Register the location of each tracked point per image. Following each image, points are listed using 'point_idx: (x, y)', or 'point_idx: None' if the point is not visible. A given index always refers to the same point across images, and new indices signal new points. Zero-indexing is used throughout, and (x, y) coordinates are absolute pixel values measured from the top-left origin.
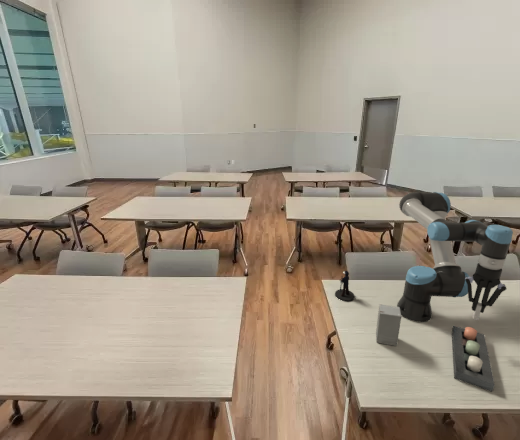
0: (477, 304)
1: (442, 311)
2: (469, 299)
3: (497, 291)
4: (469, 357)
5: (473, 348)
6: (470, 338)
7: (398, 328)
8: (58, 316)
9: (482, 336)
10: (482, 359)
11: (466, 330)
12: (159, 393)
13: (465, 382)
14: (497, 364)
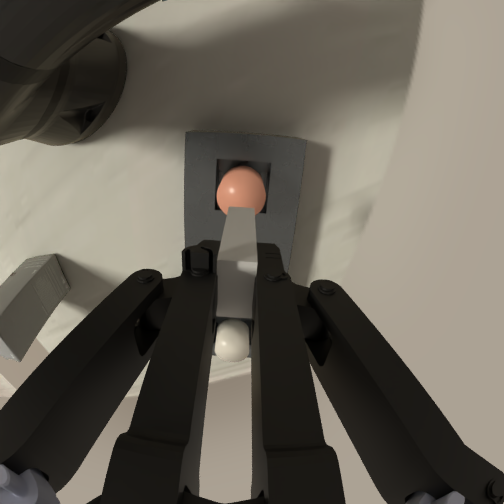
0: (219, 304)
1: (175, 8)
2: (141, 332)
3: (377, 488)
4: (215, 348)
5: None
6: None
7: (39, 330)
8: None
9: (296, 158)
10: None
11: (220, 207)
12: (5, 395)
13: None
14: (315, 245)
